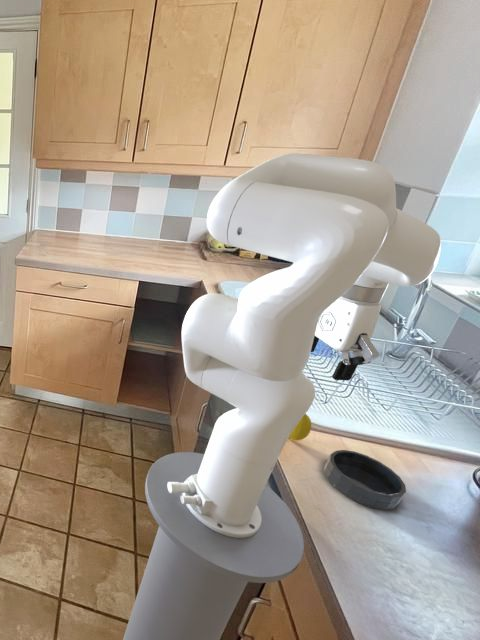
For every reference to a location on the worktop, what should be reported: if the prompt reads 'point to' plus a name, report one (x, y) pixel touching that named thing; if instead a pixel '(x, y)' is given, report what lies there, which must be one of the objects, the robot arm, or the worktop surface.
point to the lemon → (301, 429)
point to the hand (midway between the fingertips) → (321, 364)
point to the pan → (364, 479)
